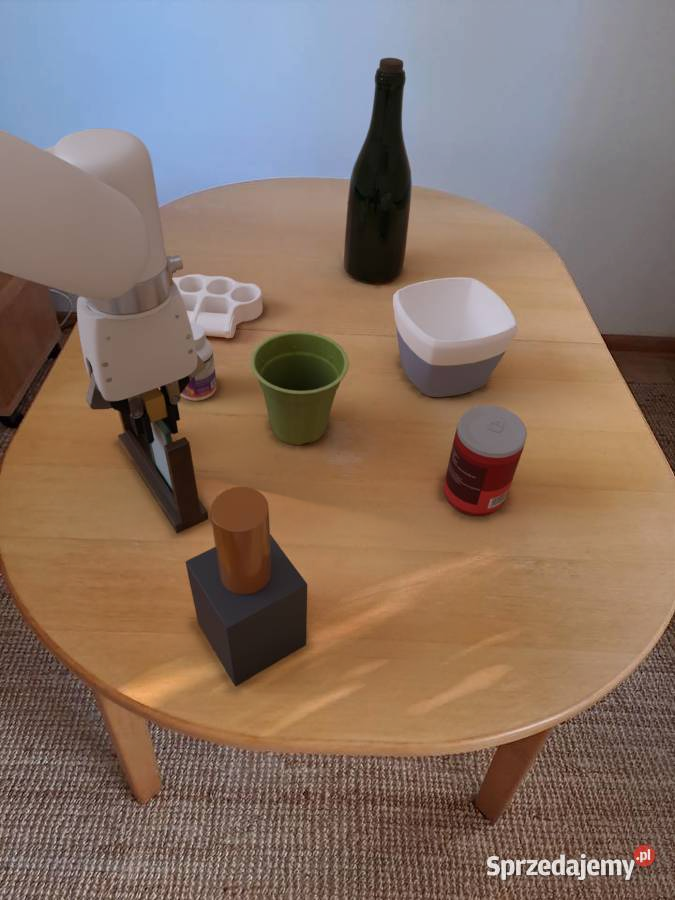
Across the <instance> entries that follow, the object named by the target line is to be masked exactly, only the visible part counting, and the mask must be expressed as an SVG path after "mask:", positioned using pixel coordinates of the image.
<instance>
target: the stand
mask: <svg viewBox="0 0 675 900" xmlns="http://www.w3.org/2000/svg"><path fill="white" fill-rule="evenodd" d="M270 545H271V565H272V574H271V578H270V580H269V582H268V583H267V585H266V586H265V587H264V588H262V589H261V590H259V591H257V592H255V593H252V594H246V595H242V594H236V593H233V592H231V591H229V590H228V589H227V588H226V587H225V586H224V585H223V584H222V582H221V579H220V574H219V568H218V561H217V554H216V547H215V546H213V547H212V548H210V549H208V550H206V551H203V552H202V553H200V554H198V555H195V556H193V557H191V558H189V559H187V560H185V567H186V571H187V576H188V581H189V586H190V591H191V596H192V601H193V605H194V606H193V607H194V611H195V615H196V621H197V625H198V626H199V628H200V630H201V631H202V633H203V634H204V636H205V639H206V640H207V641H208V643H209V645H210V646H211V648H212V650H213V652H214V653H215V655H216V656H217V658H218V660H219V661H220V664H221V665H222V667H223V668H224V670H225V672H226V673H227V675H228V677H229V679H230V680H231V682H232V684H233V686H234V687H238V686H240V685H241V684H243V683H245V682H247V681H248V680H250V679H251V678H253V677H255V676H256V675H258V674H260V673H261V672H263V671H265V670H267V669H268V668H270V667H272V666H274V665H275V664H277V663H278V662H280V661H282V660H284V659H286V658H287V657H289V656H290V655H291V654H294V653H296V652H297V651H299V650H300V649H302V648H304V647H306V646H307V636H308V634H307V632H308V631H307V630H308V629H307V628H308V582H307V581H306V580H305V578H304V577H303V576H302V575H301V573H300V572H299V571H298V569H297V568H296V567H295V565H294V564H293V562H292V561H291V560H290V559H289V557H288V556H287V554H286V552H284V550H283V549H282V548H281V547H280V545H279V544H278V542H277V541H276V540H275V538H274V537H273V536H272V534H271V533H270Z"/></svg>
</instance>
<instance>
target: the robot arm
mask: <svg viewBox="0 0 675 900" xmlns="http://www.w3.org/2000/svg"><path fill="white" fill-rule="evenodd" d="M154 173H155V172H154V168H153V163H152V158H151V154H150V151H149V150H148V147H147V146H146V144H145V143H144V142H143V140H141V138H139V137H137V136H136V135H134V134H133V133H132V132H128V131H126V130H121V129H116V128H101V127H99V128H89V129H84V130H78V131H74V132H72V133H69V134H67V135H65V136H63V137H62V138H60V140H58V141H57V142H56V143H55V144H54V145H53V146H50V147H46V148H41V147H39V146H37V145H35V144H33V143H32V142H28V141H27V140H24V139H23V138H20V137H18V136H17V135H15V134H12V133H11V132H8V131H5V130H3V129H1V128H0V272H1V273H4V274H8V275H11V276H14V277H16V278H21V279H23V280H26V281H30V282H33V283H36V284H39V285H42V286H46V287H49V288H51V289H56V290H58V291H62V292H65V293H68V294H72V295H75V296H78V298H77V300H76V319H77V327H78V335H79V341H80V346H81V352H82V357H83V361H84V366H85V369H86V372H87V375H88V377H89V383H88V388H87V392H86V395H85V396H86V397H85V401H86V402H87V404H88V406H89V407H90V409H91V410H110V409H113V410H114V411H117V412H118V411H120V412H123V413H126V414H129V416H130V420H131V424H132V428H133V430H134V432H135V434H136V435H137V436H140V435H142V436H143V437H144V439H145V440H146V442H147V443H148V444H151V443H153V441H155V440H154V436H153V431H152V426H151V422H150V417H149V415H148V414H147V412H146V411H145V410H144V408H143V406H142V404H141V400H140V395H139V394H141V393H144V392H147V391H150V390H152V389H155V388H159V390H160V391H161V392H162V394H163V395H164V400H165V405H166V411H167V416H168V417H165V418H163V419H162V421H163V422H164V424H165V425H166V426H167V428H168V429H169V431H170V432H171V435H176V434H179V428H178V427H179V426H178V421H181V417H180V411H179V405H178V404H179V403H180V402H181V400H182V396H181V395H180V394H181V393H182V392H183V390H184V389H185V387H186V386H187V385H188V383H189V382H190V379H191V378H194V377H195V376H196V375H198V374H199V373H200V372H201V371H203V370H204V369H205V367H206V365H205V364H204V362H203V361H202V360H201V358H200V357H199V356H198V354H197V351H196V346H195V341H194V337H193V332H192V328H191V325H190V321H189V318H188V315H187V311H186V308H185V305H184V302H183V300H182V297H181V294H180V292H179V290H178V287H177V285H176V284H175V283H174V281H173V279H172V278H174V277H173V276H174V274H176V273H177V271H181V270H183V269H184V264H183V260H182V258H181V256H180V255H178V254H176V255H173V256H171V255H167V251H166V246H165V238H164V232H163V225H162V219H161V213H160V207H159V199H158V193H157V187H156V181H155V174H154ZM187 336H188V337H187Z"/></svg>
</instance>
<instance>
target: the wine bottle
mask: <svg viewBox="0 0 675 900" xmlns="http://www.w3.org/2000/svg"><path fill="white" fill-rule="evenodd" d="M406 80H407V77H406V71H405V70H404V61H403V60H402V59H399V58H397V57H383V58H381V59H380V61H379V66H378V68H376V70H375V73H374V93H373V102H372V110H371V117H370V122H369V127H368V129H367V133H366V136H365V138H364V140H363V143H362V145H361V147H360V150H359V152H358V154H357V156H356V159H355V162H354V163H353V167H352V170H351V175H350V178H349V187H348V195H347V207H346V220H345V232H344V233H345V234H344V235H345V236H344V249H343V250H344V251H343V268H344V270H345V272H346V274H348V275H349V276H350V277H351V278H353V279H354V280H357V281H360V282H362V283H366V284H373V285H374V284H386V283H390V282H393V281H394V280H396V279H398V278H399V277H400V276H401V275H402V273H403V271H404V267H405V261H406V251H407V242H408V234H409V233H408V232H409V222H410V213H411V204H412V203H411V202H412V189H413V188H412V187H413V180H412V179H413V178H412V169H411V163H410V160H409V156H408V152H407V148H406V144H405V143H406V142H405V139H404V130H403V105H404V92H405V91H404V90H405V85H406Z"/></svg>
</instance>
